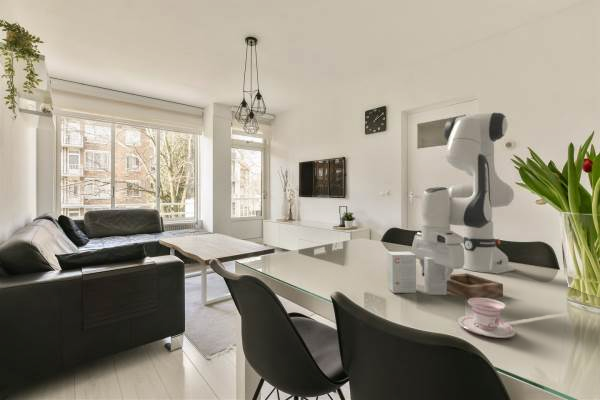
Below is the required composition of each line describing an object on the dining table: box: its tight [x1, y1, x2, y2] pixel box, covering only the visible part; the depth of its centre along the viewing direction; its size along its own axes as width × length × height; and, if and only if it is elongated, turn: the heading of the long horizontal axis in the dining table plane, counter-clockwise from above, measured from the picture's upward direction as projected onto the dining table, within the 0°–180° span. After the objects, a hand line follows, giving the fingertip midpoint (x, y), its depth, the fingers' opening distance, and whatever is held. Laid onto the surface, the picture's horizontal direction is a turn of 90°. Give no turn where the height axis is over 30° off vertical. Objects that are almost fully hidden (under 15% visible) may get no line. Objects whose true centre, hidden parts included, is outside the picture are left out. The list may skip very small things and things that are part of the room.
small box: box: [387, 251, 417, 294], centre depth 101 cm, size 8×6×13 cm
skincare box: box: [423, 257, 448, 296], centre depth 98 cm, size 6×4×12 cm
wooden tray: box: [447, 272, 504, 301], centre depth 99 cm, size 14×14×4 cm
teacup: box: [458, 298, 516, 339], centre depth 72 cm, size 12×12×6 cm
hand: (435, 276), depth 97 cm, fingers open, 8 cm apart
